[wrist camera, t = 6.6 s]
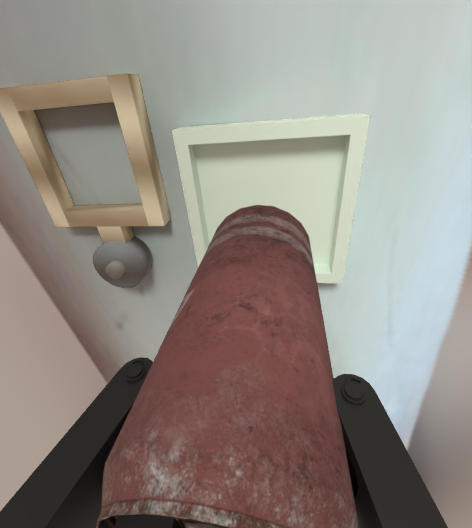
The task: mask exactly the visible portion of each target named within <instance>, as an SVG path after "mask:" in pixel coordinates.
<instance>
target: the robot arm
mask: <svg viewBox="0 0 472 528" xmlns="http://www.w3.org/2000/svg"><path fill="white" fill-rule="evenodd" d="M152 364H153V362H152V361H151V360H150V359H148V358H137V359H133V360H131V361H129V362H127V363H126V364H125V365H124V366H123V367H122V368H121V369H120V370H119V371H118V372H117V374H116V375H115V376H114V377H113V378H112V380H111V381H110V382H109V383H108V384H107V385H106V387H105V388H104V389H103V390H102V392H101V393H100V394H99V395H98V396H97V397H96V399H95V400H94V401H93V402H92V404H90V406H89V407H88V408H87V409H86V411H85V412H84V413H83V414H82V415H81V416H80V418H79V419H78V420H77V421H76V422H75V424H74V425H73V426H72V427H71V428H70V429H69V431H68V432H67V433H66V434H65V435H64V437H63V438H62V439H61V440H60V441H59V443H58V444H57V445H56V446H55V447H54V448H53V450H52V451H51V452H50V453H49V454H48V456H47V457H46V458H45V459H44V460H43V462H42V463H41V464H40V465H39V466H38V467H37V469H36V470H35V471H34V472H33V473H32V475H31V476H30V477H29V478H28V479H27V481H26V482H25V483H24V484H23V485H22V487H21V488H20V489H19V490H18V491H17V492H16V494H15V495H14V496H13V497H12V498H11V500H10V501H9V502H8V503H7V504H6V505H5V507H4V508H3V509H2V510H1V511H0V528H96V524H97V520H98V518H99V515H100V513H101V503H102V483H103V473H104V467H105V462H106V460H107V458H108V456H109V454H110V452H111V450H112V448H113V446H114V443H115V441H116V439H117V437H118V435H119V433H120V431H121V429H122V427H123V425H124V422H125V420H126V418H127V416H128V414H129V412H130V410H131V408H132V406H133V404H134V402H135V399H136V397H137V395H138V393H139V391H140V389H141V387H142V385H143V383H144V381H145V378H146V376H147V374H148V372H149V370H150V368H151V366H152ZM333 379H334V380H333V381H332V382H333V388H334V394H335V400H336V406H337V410H338V414H339V417H340V421H341V426H342V432H343V438H344V444H345V449H346V455H347V461H348V467H349V473H350V478H351V484H352V490H353V496H354V502H355V508H356V513H357V520H358V526H359V528H448V527H447V525H446V523H445V521H444V519H443V518H442V516H441V514H440V512H439V510H438V508H437V506H436V504H435V503H434V501H433V499H432V497H431V495H430V493H429V491H428V490H427V488H426V486H425V484H424V482H423V480H422V478H421V476H420V475H419V473H418V471H417V469H416V467H415V465H414V463H413V461H412V459H411V458H410V456H409V454H408V452H407V450H406V448H405V446H404V444H403V443H402V441H401V439H400V437H399V435H398V433H397V431H396V429H395V428H394V426H393V424H392V422H391V420H390V418H389V416H388V415H387V413H386V411H385V409H384V407H383V405H382V403H381V401H380V400H379V398H378V396H377V394H376V392H375V390H374V389H373V388H372V386H371V385H370V384H369V383H368V382H367V381H365V380H364V379H363V378H361V377H358V376H356V375H353V374H343V375H340V376H337V377H336V378H333ZM114 528H181V527H180V526H179V524H178V522H177V521H176V519H175V518H172V517H163V516H155V515H119V516H118V518H117V521H116V524H115V526H114Z"/></svg>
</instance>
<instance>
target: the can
mask: <svg viewBox="0 0 472 528" xmlns="http://www.w3.org/2000/svg"><path fill="white" fill-rule="evenodd" d="M333 380H334V379H333V374H332V368H331V362H330V356H329V350H328V345H327V339H326V333H325V327H324V321H323V315H322V310H321V304H320V298H319V292H318V286H317V280H316V275H315V269H314V263H313V257H312V251H311V246H310V240H309V235H308V234H307V232H306V230H305V228H304V227H303V225H302V223H301V222H300V221H298V220H297V219H296V218H295V217H294V216H292V215H291V214H290V213H289V212H286V211H284V210H281V209H279V208H277V207H274V206H265V205H253V206H249V207H244V208H240V209H238V210H237V211H235V212H233V213H232V214H230V215H228V216H227V217H226V218H225V219H224V220H223V222H222V223H221V224H220V225H219V226H218V228H217V230H216V232H215V234H214V236H213V238H212V240H211V242H210V244H209V246H208V249H207V251H206V253H205V255H204V257H203V259H202V261H201V263H200V265H199V267H198V270H197V272H196V274H195V276H194V278H193V280H192V282H191V284H190V286H189V288H188V290H187V293H186V295H185V297H184V299H183V301H182V303H181V305H180V307H179V309H178V311H177V314H176V316H175V318H174V320H173V322H172V324H171V326H170V328H169V330H168V332H167V334H166V337H165V339H164V341H163V343H162V345H161V347H160V349H159V351H158V353H157V355H156V358H155V360H154V362H153V364H152V366H151V368H150V370H149V372H148V374H147V376H146V378H145V381H144V383H143V385H142V387H141V389H140V391H139V393H138V395H137V397H136V399H135V402H134V404H133V406H132V408H131V410H130V412H129V414H128V416H127V418H126V420H125V422H124V425H123V427H122V429H121V431H120V433H119V435H118V437H117V439H116V441H115V443H114V446H113V448H112V450H111V452H110V454H109V456H108V458H107V460H106V462H105V467H104V473H103V483H102V503H101V513H100V515H99V518H98V520H97V524H96V528H114V526H115V524H116V521H117V518H118V516H119V515H155V516H163V517H172V518H175V519H176V521H177V522H178V524H179V526H180V527H181V528H359V526H358V520H357V513H356V508H355V502H354V496H353V490H352V484H351V478H350V473H349V467H348V461H347V455H346V449H345V444H344V438H343V432H342V426H341V421H340V417H339V414H338V410H337V406H336V400H335V394H334V388H333V382H332V381H333Z"/></svg>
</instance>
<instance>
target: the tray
mask: <svg viewBox="0 0 472 528" xmlns="http://www.w3.org/2000/svg"><path fill="white" fill-rule="evenodd" d="M369 120H370V115H367V114H364V113H357V114H344V115H331V116H318V117H305V118H292V119H278V120H265V121H252V122H239V123H226V124H213V125H200V126H187V127H180V128H177V129H174V130H172V134H173V139H174V145H175V150H176V155H177V160H178V166H179V171H180V176H181V181H182V187H183V192H184V197H185V202H186V208H187V213H188V218H189V224H190V229H191V234H192V239H193V245H194V250H195V255H196V260H197V266H198V267H199V265H200V263H201V261H202V259H203V257H204V255H205V253H206V251H207V249H208V246H209V244H210V242H211V240H212V238H213V236H214V234H215V232H216V230H217V228H218V226H219V225H220V224H221V223H222V222H223V220H224V219H225V218H226V217H227V216H228V215H230V214H232V213H233V212H235V211H237V210H238V209H240V208H244V207H249V206H253V205H265V206H274V207H277V208H279V209H281V210H284V211H286V212H289V213H290V214H291V215H292V216H294V217H295V218H296V219H297V220H298V221H300V222H301V223H302V225H303V227H304V228H305V230H306V232H307V234H308V235H309V240H310V246H311V251H312V257H313V263H314V269H315V275H316V280H317V283H337V284H342V282H343V276H344V270H345V264H346V258H347V252H348V246H349V240H350V234H351V228H352V222H353V216H354V210H355V204H356V198H357V192H358V186H359V180H360V174H361V168H362V162H363V156H364V150H365V144H366V138H367V132H368V126H369Z"/></svg>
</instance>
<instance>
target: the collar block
mask: <svg viewBox="0 0 472 528" xmlns="http://www.w3.org/2000/svg"><path fill="white" fill-rule="evenodd" d="M110 102H114V104H115V108H116V111H117V115H118V118H119V122H120V126H121V129H122V133H123V136H124V140H125V143H126V147H127V151H128V154H129V158H130V161H131V165H132V168H133V172H134V175H135V179H136V183H137V186H138V190H139V193H140V197H141V200H142V204H114V205H74V203H73V201H72V198H71V196H70V194H69V191H68V189H67V187H66V184H65V182H64V180H63V177H62V175H61V172H60V170H59V168H58V165H57V163H56V161H55V158H54V156H53V154H52V151H51V149H50V147H49V144H48V142H47V140H46V137H45V135H44V132H43V130H42V128H41V125H40V123H39V121H38V118H37V116H36V114H35V111H34V110H38V109H49V108H59V107H69V106H79V105H90V104H100V103H110ZM0 112H1V115H2V117H3V119H4V121H5V123H6V125H7V127H8V129H9V131H10V133H11V135H12V137H13V139H14V141H15V143H16V145H17V147H18V150H19V152H20V154H21V156H22V158H23V160H24V162H25V164H26V166H27V168H28V170H29V172H30V174H31V176H32V178H33V180H34V182H35V185H36V187H37V189H38V191H39V193H40V195H41V197H42V199H43V201H44V203H45V205H46V207H47V209H48V211H49V213H50V215H51V217H52V219H53V222H54V224H55V226H56V227H97V229H98V232H99V234H100V237H101V239H102V242H103V244H102V245H101V246H100V247H99V248H98V249H97V250H96V251H95V252H94V255H93V264H94V267H95V269H96V270H97V272H98V273H99V275H100V276H101V277H102V278H103V279H105V280H106V281H107V282H109V283H110V284H112V285H115V286H118V287H122V288H131V287H134V286H136V285H137V284H139V283H140V281H141V280H142V279H143V277H144V276H145V275H146V273H147V272H148V271H149V269H150V268H151V266H152V261H153V260H152V254H151V252H150V250H149V248H148V247H147V246H146V244H145V243H144V242H142V241H141V240H140V239H138V238H137V237H135V236H134V234H133V231H132V228H131V226H165V225H166V224H167V223H168V221H169V220H170V219H171V217H170V212H169V208H168V203H167V199H166V195H165V190H164V186H163V182H162V177H161V173H160V168H159V164H158V160H157V155H156V151H155V146H154V142H153V138H152V133H151V129H150V125H149V120H148V116H147V111H146V107H145V103H144V98H143V94H142V90H141V85H140V81H139V76H138V74H119V75H111V76H102V77H93V78H85V79H76V80H68V81H59V82H51V83H42V84H33V85H25V86H16V87H8V88H0Z"/></svg>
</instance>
